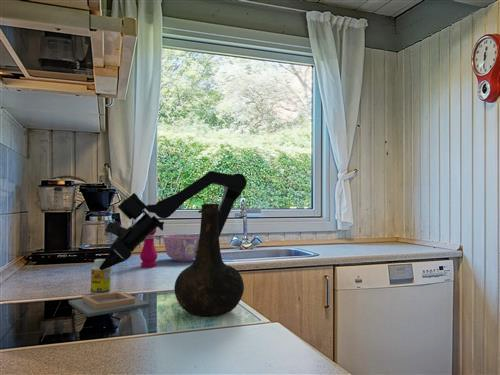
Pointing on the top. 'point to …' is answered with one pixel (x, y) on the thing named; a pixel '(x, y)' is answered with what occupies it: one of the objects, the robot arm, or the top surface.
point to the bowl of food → (181, 246)
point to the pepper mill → (149, 252)
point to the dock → (107, 303)
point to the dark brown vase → (209, 274)
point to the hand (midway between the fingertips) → (102, 266)
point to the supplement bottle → (100, 278)
